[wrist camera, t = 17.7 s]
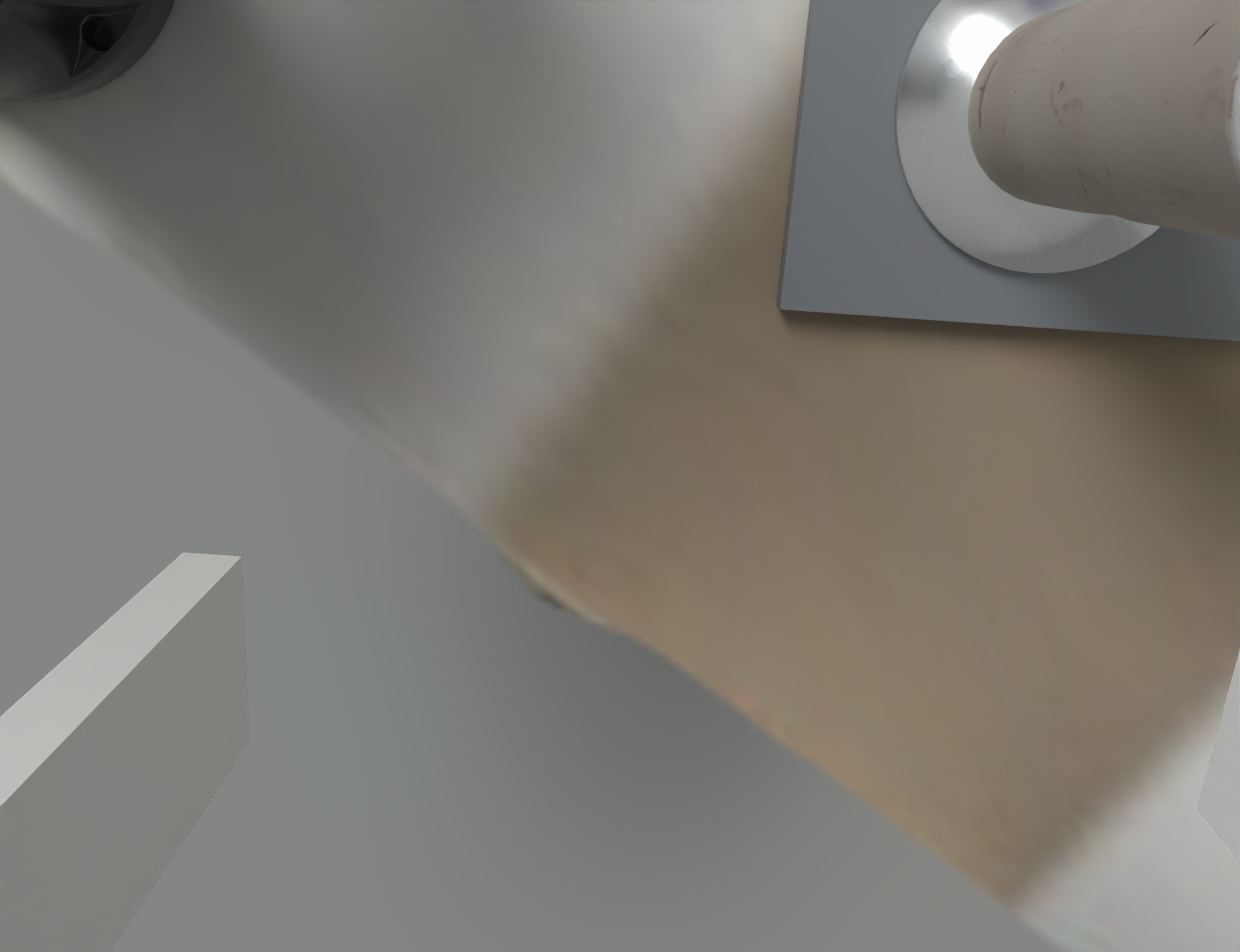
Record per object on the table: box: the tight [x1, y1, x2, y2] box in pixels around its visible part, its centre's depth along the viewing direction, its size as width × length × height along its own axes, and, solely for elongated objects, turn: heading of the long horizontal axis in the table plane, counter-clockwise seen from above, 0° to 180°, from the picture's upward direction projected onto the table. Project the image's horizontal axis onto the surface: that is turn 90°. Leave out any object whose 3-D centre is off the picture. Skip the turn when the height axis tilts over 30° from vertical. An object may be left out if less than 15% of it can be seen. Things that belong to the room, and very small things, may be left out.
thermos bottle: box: [968, 0, 1240, 241], centre depth 33 cm, size 8×8×28 cm
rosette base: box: [777, 0, 1240, 342], centre depth 47 cm, size 22×19×4 cm
